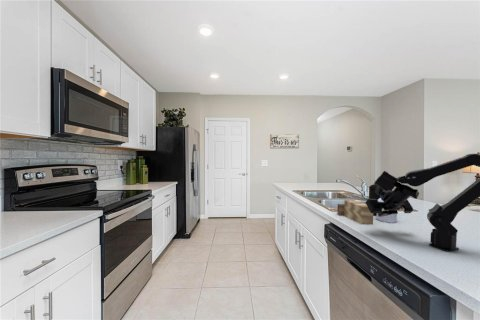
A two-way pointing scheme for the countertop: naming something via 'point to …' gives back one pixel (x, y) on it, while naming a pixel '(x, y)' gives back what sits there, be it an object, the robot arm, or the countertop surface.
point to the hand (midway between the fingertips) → (379, 215)
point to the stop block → (340, 209)
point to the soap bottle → (387, 218)
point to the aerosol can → (373, 194)
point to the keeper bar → (358, 212)
